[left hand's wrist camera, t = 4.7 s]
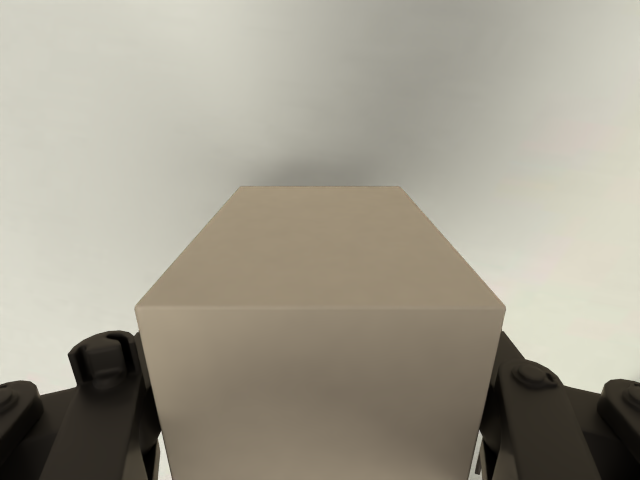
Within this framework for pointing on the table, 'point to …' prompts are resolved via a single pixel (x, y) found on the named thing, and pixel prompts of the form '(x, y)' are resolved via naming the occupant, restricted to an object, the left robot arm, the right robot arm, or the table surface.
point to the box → (320, 341)
